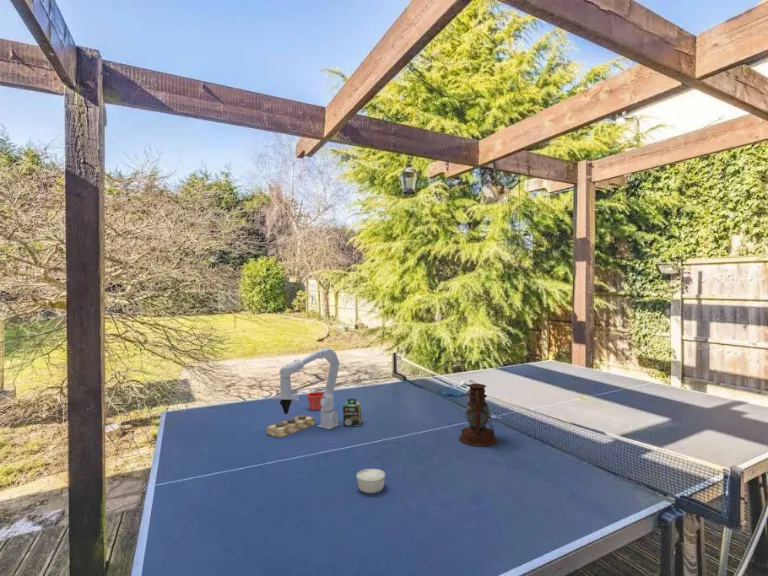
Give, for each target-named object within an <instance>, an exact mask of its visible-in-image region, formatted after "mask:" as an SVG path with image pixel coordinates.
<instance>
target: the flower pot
mask: <svg viewBox="0 0 768 576" xmlns="http://www.w3.org/2000/svg"><path fill="white" fill-rule="evenodd" d="M323 394H324V392H319V391H316V392H315V391H314V392H309V393H308V394H307V401H308V407H309V409H311V410H310V411H312V410H318V411H321V410H320V409H321V408H322V406H321V404H320V401H321V399H322V397H323Z"/></svg>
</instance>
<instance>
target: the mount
mask: <svg viewBox="0 0 768 576" xmlns="http://www.w3.org/2000/svg"><path fill="white" fill-rule="evenodd" d="M294 418H295V422H294V423H287V420H283V421H282V422H284V426H283V427H276V423H275V424H270V425H268V426H267V427H266V435H268V436H271V437H274V438H275V437H276V438H278V439H281V438H283V437H285V436H289V435H291V434H294V433H296V432H299V431H301V430H304V429H307V428H310V427H311V426H314V425H315V423H316V421H315V419H316V418H315V417H313V416H309V415H306V418H305V419H298V416H294Z"/></svg>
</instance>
